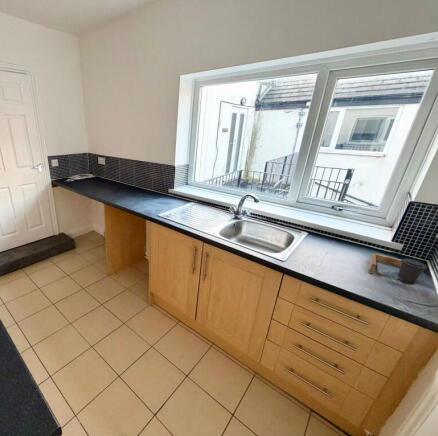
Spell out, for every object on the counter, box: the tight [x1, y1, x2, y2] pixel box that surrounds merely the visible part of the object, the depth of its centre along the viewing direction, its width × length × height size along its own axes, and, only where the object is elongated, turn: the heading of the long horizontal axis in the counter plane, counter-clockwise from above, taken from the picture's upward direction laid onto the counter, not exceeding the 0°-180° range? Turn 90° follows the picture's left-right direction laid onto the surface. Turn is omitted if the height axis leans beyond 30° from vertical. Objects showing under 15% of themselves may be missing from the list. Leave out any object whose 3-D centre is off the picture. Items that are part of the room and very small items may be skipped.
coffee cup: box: [397, 258, 428, 286], centre depth 107 cm, size 8×8×10 cm
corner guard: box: [367, 252, 402, 275], centre depth 115 cm, size 16×14×5 cm
